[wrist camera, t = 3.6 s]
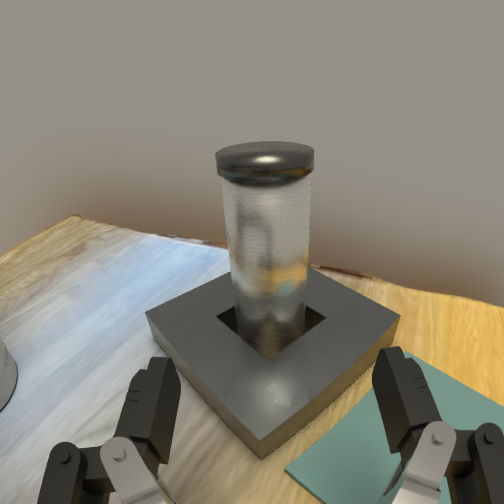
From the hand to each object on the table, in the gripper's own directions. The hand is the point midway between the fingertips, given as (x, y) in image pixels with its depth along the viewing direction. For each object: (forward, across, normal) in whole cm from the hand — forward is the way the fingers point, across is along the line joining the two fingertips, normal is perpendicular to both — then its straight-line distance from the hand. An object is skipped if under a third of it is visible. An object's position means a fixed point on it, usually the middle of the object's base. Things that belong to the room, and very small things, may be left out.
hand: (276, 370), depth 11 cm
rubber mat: (-2, -10, +9) cm, 13 cm away
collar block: (+10, 0, +9) cm, 13 cm away
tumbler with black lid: (+10, 0, +9) cm, 13 cm away
